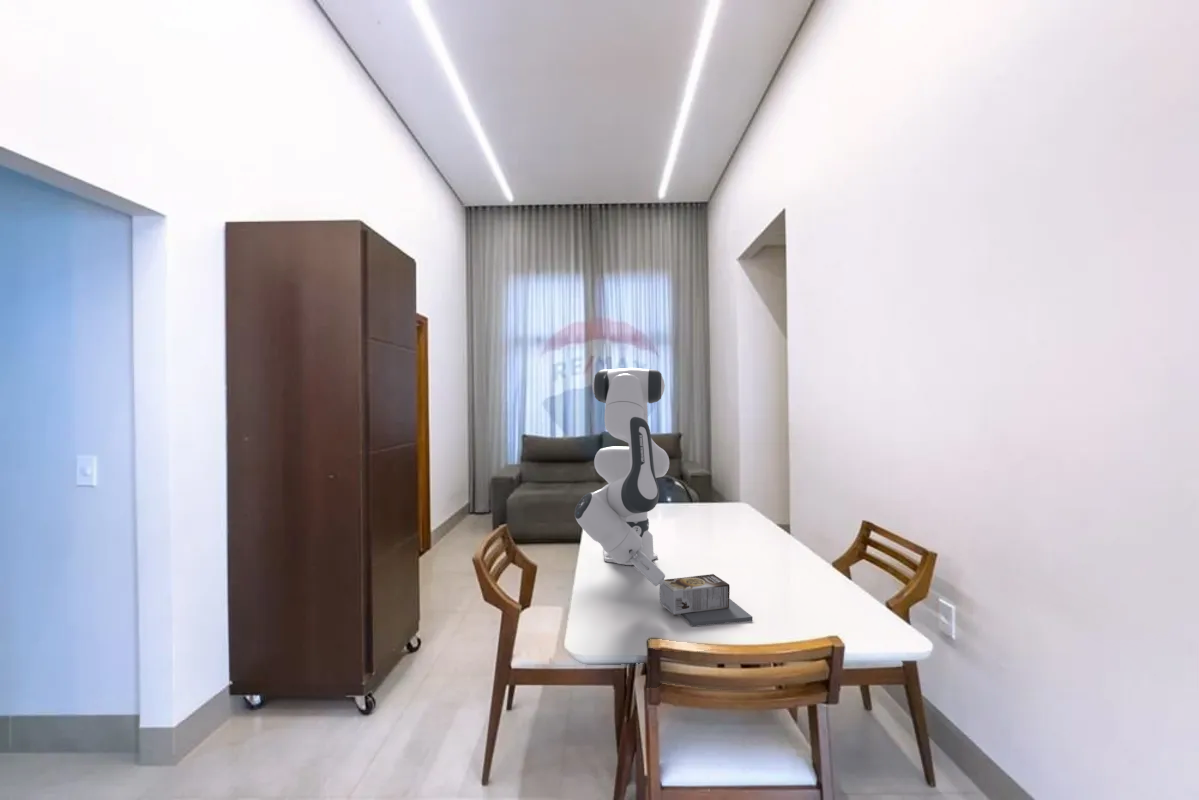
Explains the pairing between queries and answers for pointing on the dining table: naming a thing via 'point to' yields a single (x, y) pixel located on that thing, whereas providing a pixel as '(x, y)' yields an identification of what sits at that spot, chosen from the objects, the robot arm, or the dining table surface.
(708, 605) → the coffee box
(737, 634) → the dining table surface
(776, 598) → the dining table surface
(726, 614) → the mat
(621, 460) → the robot arm
